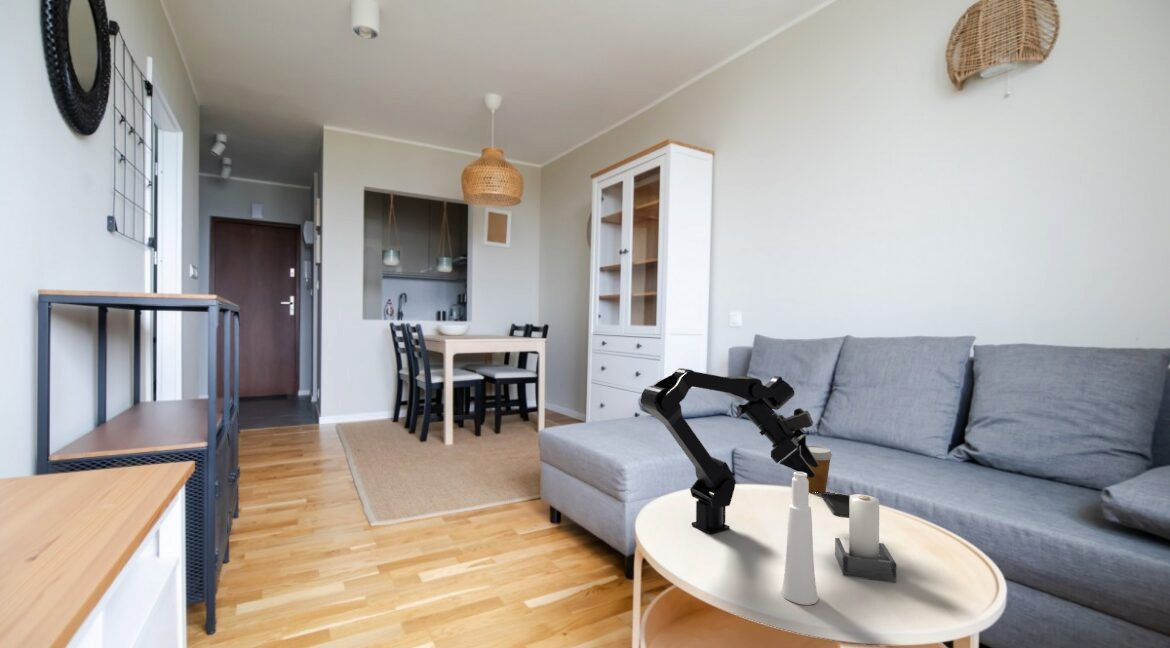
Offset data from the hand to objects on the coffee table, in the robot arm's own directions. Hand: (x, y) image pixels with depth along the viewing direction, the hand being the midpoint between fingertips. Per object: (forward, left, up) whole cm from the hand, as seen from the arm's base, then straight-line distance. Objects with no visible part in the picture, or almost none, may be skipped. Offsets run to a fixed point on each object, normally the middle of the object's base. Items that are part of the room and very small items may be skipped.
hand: (815, 471), depth 119 cm
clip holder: (-9, -17, -14) cm, 23 cm away
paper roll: (-9, -17, -13) cm, 23 cm away
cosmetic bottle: (-29, -17, -14) cm, 36 cm away
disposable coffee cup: (+24, +17, -14) cm, 33 cm away
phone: (+19, +5, -14) cm, 25 cm away
